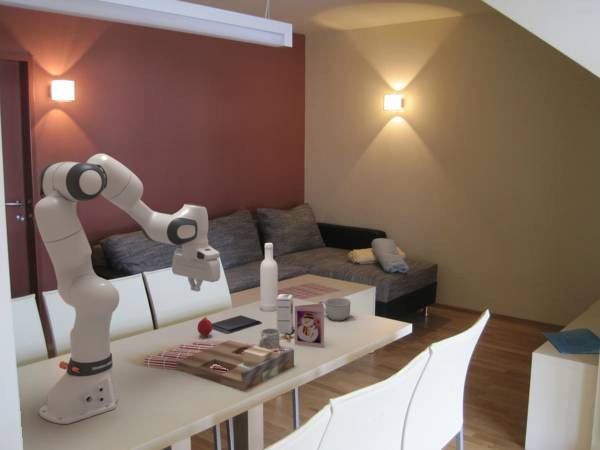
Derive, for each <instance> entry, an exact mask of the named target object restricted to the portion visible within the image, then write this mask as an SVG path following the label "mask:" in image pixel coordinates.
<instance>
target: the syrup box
mask: <svg viewBox="0 0 600 450" xmlns="http://www.w3.org/2000/svg"><path fill="white" fill-rule="evenodd" d="M293 297H294V296H293V294H290V293H289V294H288V293H287V294H286V293H282V294H279V293H278V297H277V298H276V300H277V310H276V329H277V330H279V334H291V333H292V331H293V330H294V298H293Z"/></svg>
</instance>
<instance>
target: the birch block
mask: <svg viewBox="0 0 600 450" xmlns="http://www.w3.org/2000/svg"><path fill="white" fill-rule="evenodd" d="M274 352H275V351H272V350H268V349H265V348H261V347H260V346H258V345H253V347H251V348H249V349H247V350H244V351H243V355H242V356H243V358H244V366H248V367H253V366H255V365H257V364H259V363H262V362H264V361H266V360H268V359H270V358H272V357H274Z"/></svg>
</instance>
